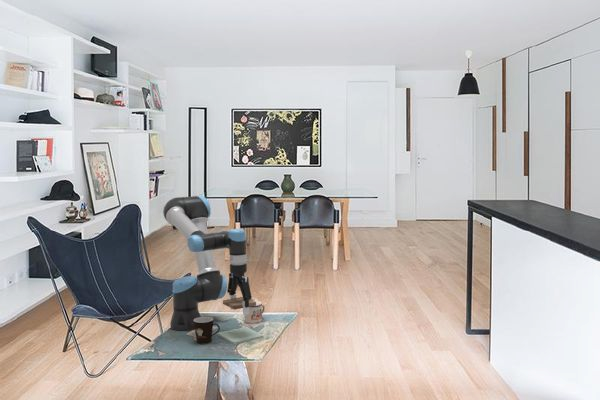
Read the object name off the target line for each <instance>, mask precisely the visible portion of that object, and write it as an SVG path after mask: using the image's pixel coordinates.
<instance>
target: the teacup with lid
mask: <svg viewBox="0 0 600 400" xmlns="http://www.w3.org/2000/svg"><path fill="white" fill-rule="evenodd" d="M251 300H253V301H255V302H256V306H251V307H249V314H247V315H243V316H244V317H243V318H244V322H245V323H247V324H258V323H257V322H259V323H261V322H262V321H263V314H264V313H265V309H266V306H265V305H264V304H263V303H262V302H261V301H260V300H257V299H256V298H255V297H252V299H251Z"/></svg>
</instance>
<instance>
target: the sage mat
mask: <svg viewBox="0 0 600 400" xmlns="http://www.w3.org/2000/svg"><path fill="white" fill-rule="evenodd" d="M216 335H217V336H218V337H220V338H221V339H224V340H225V341H227V342H229V343H230V344H233V345H238V344H241V343H247V342H250V341H253V340H258V339H259V340H260V339H263V338H264V337H265V336H264V334H262V333H260V332H258V331H255V330H253V329H252V328H249V327H247V326H243V327H239V328H235V329H229V330H225V331H220V332H218V333H216Z"/></svg>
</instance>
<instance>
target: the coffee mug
mask: <svg viewBox="0 0 600 400" xmlns="http://www.w3.org/2000/svg"><path fill="white" fill-rule="evenodd" d="M194 326H195V329H194V330H195V331H194V333H195V338H196V343H197V344H199V345H208V344H210V343H212V340H213V339H212V338H213V336H215V335H217V333H220V332H219V331H220V330H221V327H220V325H219V324H218V323H214V318H213V317H211V316H201V317H199V318H196V319H194ZM214 326H217V328H218V330H216V332H214V333H213V330H214V329H213V327H214Z"/></svg>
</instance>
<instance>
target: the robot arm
mask: <svg viewBox="0 0 600 400" xmlns="http://www.w3.org/2000/svg"><path fill="white" fill-rule="evenodd" d="M211 211H212V210H211V205H210V202H209V200H208V199H207V198H206V197H204V196H202V195H200V196H199V195H194V196H181V197H180V196H179V197H173V198H171V199H169V200H168V201H167V202H166V203H165V204H164V207H163V211H162V213H163V217H164V219H165V221H166V222H167V223H168V224H170V225H173V226H174V227H175V228H176V230H177V231H179V233H181V234H182V236H183V237H185V239H186V240H187V247H188V250H189V252H192V253H194V256H195V260H196V264H197V269H198V273H197V275H196V276H195V275H188V276H182V277H179V278H176V279H175V280H174V281H173V283H172V290H171V292H172V301H173V303H172V304H173V306H172V307H173V311H172V315H171V318H170V323H169V324H170V329H171V330H175V331H191V330H195V326H194V319H196V318H199V317H202V315H201V313H200V311H199V303H205V302H209V301H217V300H220V299H223V298H224V297H225V296H226V294H227V293H228V295H229V299H234V298H237V292H236V291H237V289H238V287H239V289H240V293H241V295H242V296H241V297H243V300H242V301H243V308H242V315H243V316H244V315H247V314H249V300H250V299H252V298H253V297H252V293H251V287H250V282H249V276H245V273H247V270H248V269H247V268H248V267H247V265H248V264H247V237H246V236H247V235H246V230H245V229H244V228H232V229H229V230H220V231H218V232H210V233H209V231H208V226H207V222H208V221H209V217H210V216H211ZM221 249H222V250H223V249H228V250H229V251H228V252H229V257H228V260H229V264H230V265H229V272H230V273H228V281H227V278H226V276H225V275H224V274H221V271H220V270H219V269H217V267H216V262H215V258H214V253H213V250H214V251H215V250H221ZM230 310H233V309H232V308H230Z"/></svg>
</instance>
